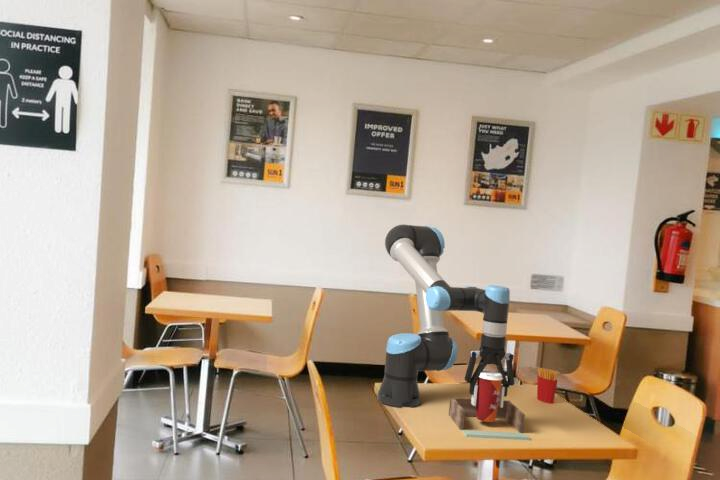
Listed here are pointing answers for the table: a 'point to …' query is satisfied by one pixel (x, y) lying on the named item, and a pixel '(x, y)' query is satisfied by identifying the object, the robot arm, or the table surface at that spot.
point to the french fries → (546, 385)
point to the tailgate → (495, 435)
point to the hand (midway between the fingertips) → (486, 405)
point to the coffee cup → (488, 395)
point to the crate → (466, 409)
